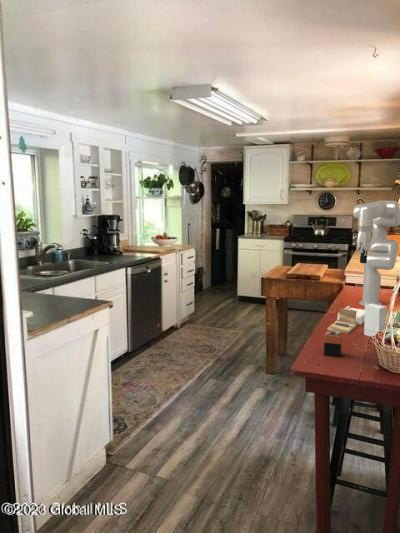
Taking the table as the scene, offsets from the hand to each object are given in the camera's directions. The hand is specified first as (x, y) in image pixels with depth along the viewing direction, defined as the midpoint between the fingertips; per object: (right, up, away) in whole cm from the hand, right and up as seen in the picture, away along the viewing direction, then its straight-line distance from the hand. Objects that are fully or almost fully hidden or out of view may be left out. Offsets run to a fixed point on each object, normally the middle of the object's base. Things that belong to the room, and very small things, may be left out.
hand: (363, 262), depth 235 cm
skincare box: (-6, -35, -31) cm, 47 cm away
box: (-6, -30, -4) cm, 31 cm away
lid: (-17, -33, -18) cm, 41 cm away
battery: (-33, -39, -54) cm, 74 cm away
